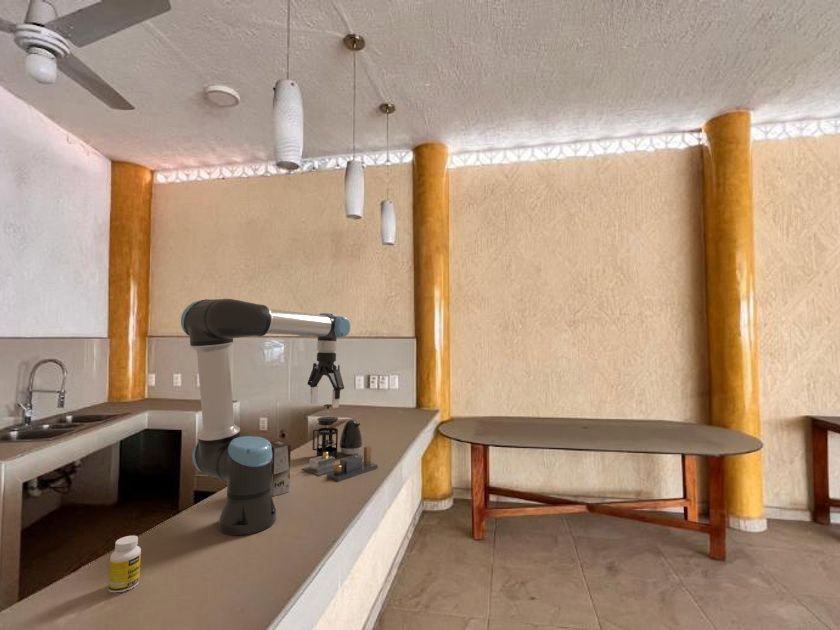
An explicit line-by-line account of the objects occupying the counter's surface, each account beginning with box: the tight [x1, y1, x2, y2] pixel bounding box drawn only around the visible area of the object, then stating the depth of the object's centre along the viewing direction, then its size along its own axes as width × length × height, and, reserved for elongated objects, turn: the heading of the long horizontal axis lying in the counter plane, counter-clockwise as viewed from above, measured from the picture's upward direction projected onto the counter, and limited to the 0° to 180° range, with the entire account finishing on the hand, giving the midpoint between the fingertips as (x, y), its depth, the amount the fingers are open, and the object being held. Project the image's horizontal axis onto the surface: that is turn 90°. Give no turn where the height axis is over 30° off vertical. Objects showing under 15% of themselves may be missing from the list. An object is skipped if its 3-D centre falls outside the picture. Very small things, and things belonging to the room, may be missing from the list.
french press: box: [312, 403, 339, 460], centre depth 180 cm, size 12×9×23 cm
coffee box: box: [269, 439, 292, 497], centre depth 141 cm, size 9×6×16 cm
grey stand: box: [326, 445, 379, 483], centre depth 160 cm, size 20×7×8 cm, turn 140°
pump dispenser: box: [339, 419, 363, 456], centre depth 185 cm, size 10×10×15 cm
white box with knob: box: [309, 452, 336, 472], centre depth 163 cm, size 8×6×6 cm
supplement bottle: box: [107, 535, 142, 593], centre depth 87 cm, size 5×5×10 cm
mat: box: [301, 466, 334, 477], centre depth 163 cm, size 11×11×1 cm
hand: (324, 405), depth 161 cm, fingers open, 13 cm apart
